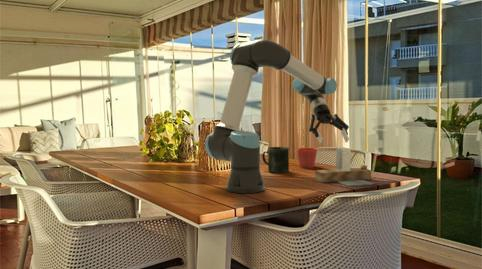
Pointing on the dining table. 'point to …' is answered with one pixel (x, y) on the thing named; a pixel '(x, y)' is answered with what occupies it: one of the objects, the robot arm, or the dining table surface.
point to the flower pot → (306, 157)
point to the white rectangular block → (343, 159)
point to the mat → (355, 183)
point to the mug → (277, 159)
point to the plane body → (343, 174)
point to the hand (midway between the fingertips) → (334, 141)
